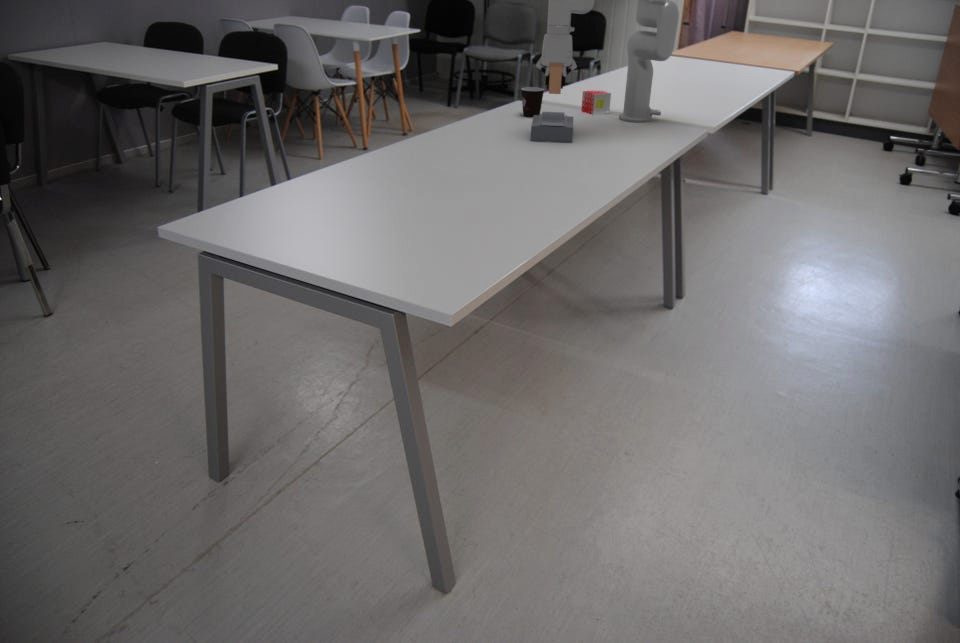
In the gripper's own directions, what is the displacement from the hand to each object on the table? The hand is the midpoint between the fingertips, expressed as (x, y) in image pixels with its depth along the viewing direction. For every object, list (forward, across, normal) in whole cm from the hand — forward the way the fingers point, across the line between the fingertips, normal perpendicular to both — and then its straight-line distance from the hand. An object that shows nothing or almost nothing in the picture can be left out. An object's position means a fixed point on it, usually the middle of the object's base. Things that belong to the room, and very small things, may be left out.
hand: (555, 87), depth 253 cm
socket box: (+16, 0, +3) cm, 16 cm away
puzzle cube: (+16, -16, -41) cm, 47 cm away
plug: (+2, 0, 0) cm, 2 cm away
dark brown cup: (+16, +9, -31) cm, 36 cm away
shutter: (+10, 0, +8) cm, 13 cm away
